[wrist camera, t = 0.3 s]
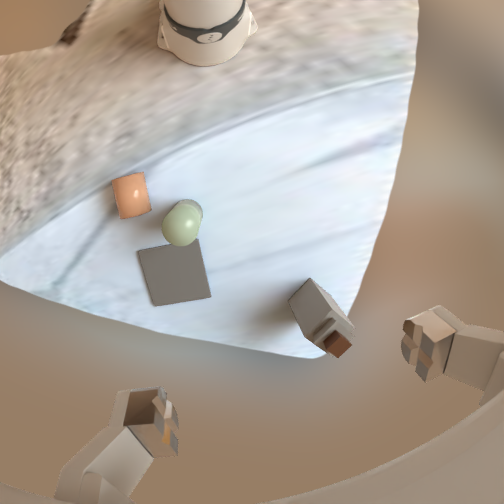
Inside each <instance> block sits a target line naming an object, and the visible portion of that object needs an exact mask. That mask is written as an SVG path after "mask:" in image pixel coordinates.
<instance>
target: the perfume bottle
mask: <svg viewBox="0 0 504 504" xmlns="http://www.w3.org/2000/svg"><path fill="white" fill-rule="evenodd" d="M288 302H289V305H290V307H291V309H292V311H293V313H294V315H295V318H296V320H297V322H298V324H299V326H300V329H301V331H302V333H303V335H304V337H305V338H306V339H308V340H309V341H311V342H312V343H313V344H315V345H316V346H317V347H319V348H320V349H322V350H323V351H325V352H326V353H328V354H329V355H331V356H332V357H333V356H336V357H337V358H339V357H340V356H341V355H342V354H343V353H344V352H345V351H346V350H347V349H348V348H349V347H350V346H351V345H352V344H351V343H350V341H351V339H353V337H355V335H353V334H352V333H351V332H352V331H353V330H354V329H355V327H354V326H353V325H352V323H351V322H350V320H349V319H348V318H347V316H346V315H345V314H344V312H343V311H342V310H341V308H340V307H339V306H338V304H337V303H336V302H335V300H334V299H333V298H332V296H331V295H330V294H329V293H327V292H326V291H325V290H324V289H323V288H322V287H320V286H319V285H318V284H317V283H316V282H315V281H313V280H312V279H311V278H309V279H308V281H307V282H306V283H305V284H304V285H303V286H302V287H301V288H300V289H299V290H298V291H297V292H296V293H295V294H294V295H293V296H292V297H291V298H290V299H289V300H288Z"/></svg>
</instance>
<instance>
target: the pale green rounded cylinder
mask: <svg viewBox="0 0 504 504" xmlns="http://www.w3.org/2000/svg"><path fill="white" fill-rule="evenodd" d="M202 217H203V211H202V208H201V206H200V205H199V204H198V203H197V202H196V201H194V200H190V199H185V200H182V201H180V202H179V203H177V204H176V205H175V207H174V208H173V209H172V210H171V211H170V212H169V213H168V214H167V215H166V217H165V218H164V220H163V222H162V233H163V236H164V237H165V239H166V240H167V241H168V242H169V243H171V244H172V245H175V246H186V245H189V244H190V243H192V242H193V241H194V240H195V238H196V237H197V234H198V231H199V228H200V224H201V221H202Z"/></svg>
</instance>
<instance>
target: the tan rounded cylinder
mask: <svg viewBox="0 0 504 504" xmlns="http://www.w3.org/2000/svg"><path fill="white" fill-rule="evenodd" d="M111 181H112V186H113V190H114V195H115V200H116V204H117V208H118V213H119V217H120V219H125V218H130V217H134V216H138V215H141V214H144V213H147V212H149V211H151V205H150V201H149V196H148V191H147V186H146V181H145V176H144V172H140V173H136V174H132V175H128V176H124V177H121V178H117V179H114V180H111Z"/></svg>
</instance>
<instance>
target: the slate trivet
mask: <svg viewBox="0 0 504 504" xmlns="http://www.w3.org/2000/svg"><path fill="white" fill-rule="evenodd" d="M138 253H139V256H140V260H141V263H142V267H143V270H144V274H145V277H146V280H147V284H148V287H149V290H150V293H151V296H152V300H153V303H154V306H162V305H168V304H174V303H180V302H186V301H192V300H198V299H204V298H210V297H211V292H210V288H209V284H208V279H207V275H206V271H205V266H204V262H203V258H202V253H201V249H200V244H199V239H196V240H194V241H193V242H192V243H190V244H189V245H186V246H175V245H172V244H170V245H165V246H160V247H154V248H149V249H144V250H140V251H139V252H138Z"/></svg>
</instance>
